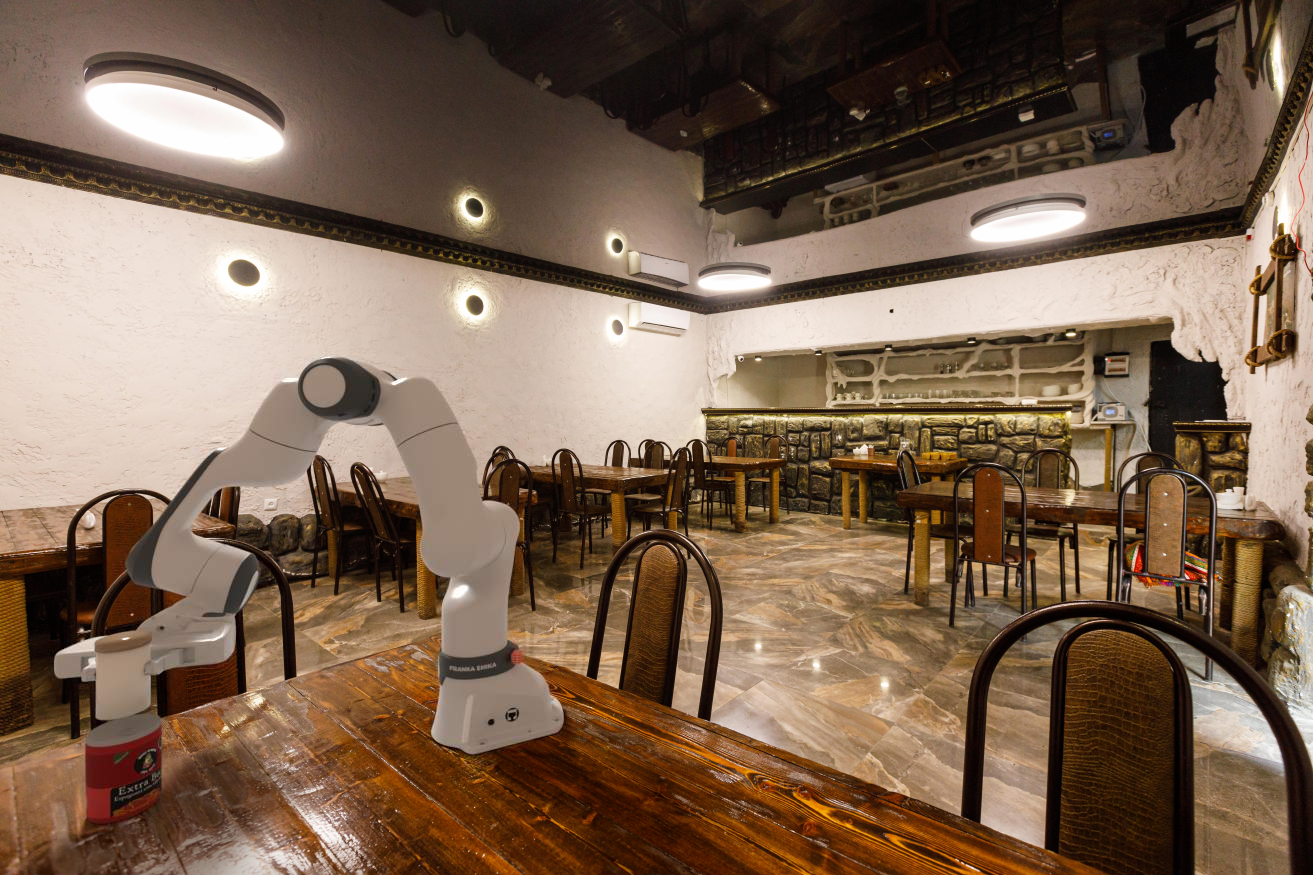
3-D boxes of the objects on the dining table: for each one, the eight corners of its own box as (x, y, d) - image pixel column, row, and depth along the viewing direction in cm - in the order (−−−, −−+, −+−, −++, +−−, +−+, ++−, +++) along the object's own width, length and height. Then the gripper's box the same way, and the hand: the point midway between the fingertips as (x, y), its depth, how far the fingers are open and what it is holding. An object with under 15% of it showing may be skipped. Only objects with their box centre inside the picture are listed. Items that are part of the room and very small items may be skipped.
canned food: (116, 829, 74) (116, 744, 74) (68, 820, 75) (68, 738, 75) (176, 792, 81) (176, 716, 81) (132, 785, 83) (132, 710, 83)
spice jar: (160, 697, 82) (160, 628, 82) (137, 716, 77) (138, 642, 76) (110, 703, 80) (110, 632, 80) (83, 723, 75) (83, 647, 75)
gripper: (89, 623, 87) (21, 657, 74) (245, 612, 94) (208, 641, 81) (89, 664, 88) (21, 705, 74) (245, 650, 94) (208, 686, 81)
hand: (120, 672), depth 77 cm, fingers closed on spice jar, 5 cm apart
